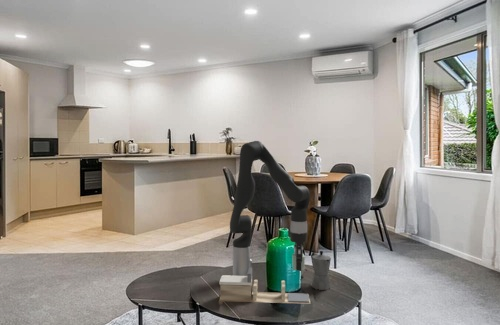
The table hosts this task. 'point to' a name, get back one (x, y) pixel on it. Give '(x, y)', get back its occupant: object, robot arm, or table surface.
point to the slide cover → (237, 279)
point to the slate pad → (297, 297)
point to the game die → (303, 271)
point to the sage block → (301, 262)
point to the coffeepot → (320, 271)
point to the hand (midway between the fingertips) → (298, 268)
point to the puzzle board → (254, 294)
